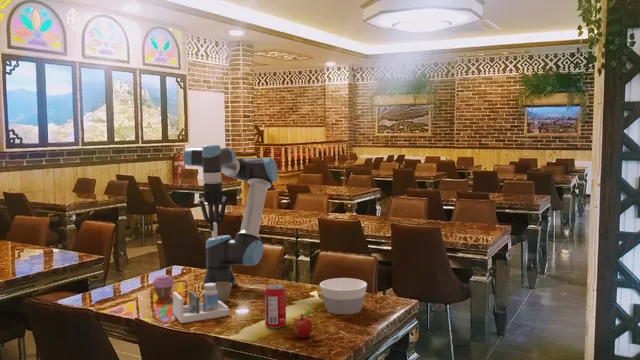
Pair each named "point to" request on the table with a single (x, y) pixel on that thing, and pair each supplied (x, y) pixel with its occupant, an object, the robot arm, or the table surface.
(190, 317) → the white open tray
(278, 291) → the soda can
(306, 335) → the apple
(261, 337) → the table surface
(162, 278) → the cupcake
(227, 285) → the flower pot
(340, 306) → the bowl
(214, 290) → the pill bottle
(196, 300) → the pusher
